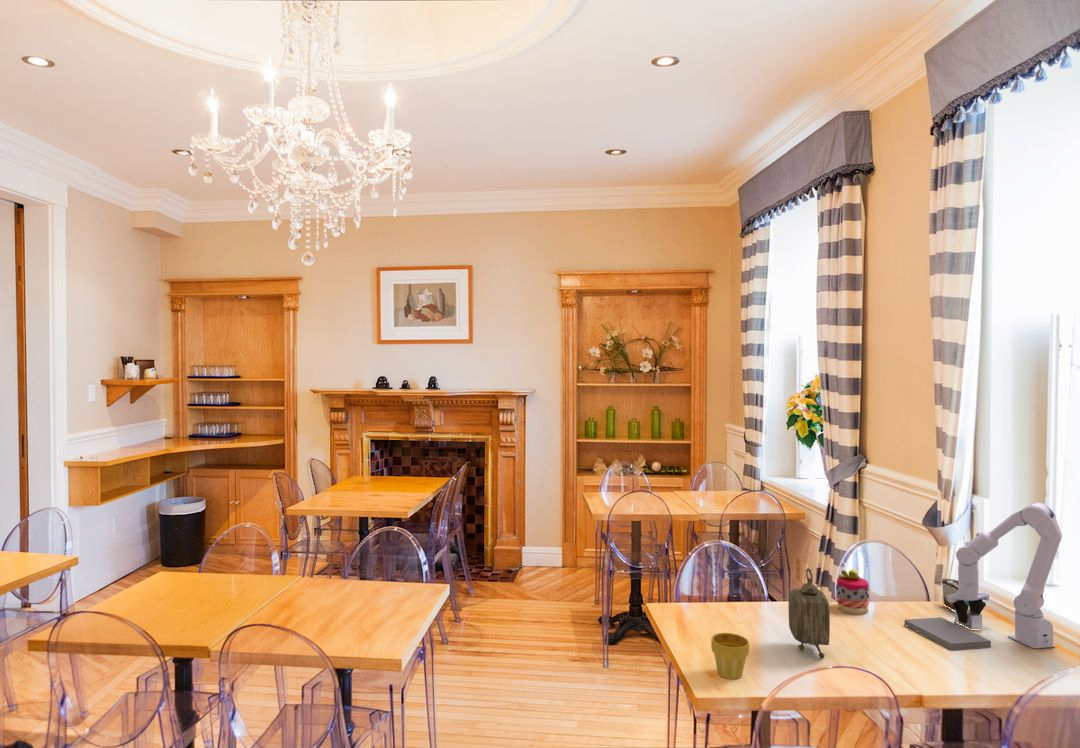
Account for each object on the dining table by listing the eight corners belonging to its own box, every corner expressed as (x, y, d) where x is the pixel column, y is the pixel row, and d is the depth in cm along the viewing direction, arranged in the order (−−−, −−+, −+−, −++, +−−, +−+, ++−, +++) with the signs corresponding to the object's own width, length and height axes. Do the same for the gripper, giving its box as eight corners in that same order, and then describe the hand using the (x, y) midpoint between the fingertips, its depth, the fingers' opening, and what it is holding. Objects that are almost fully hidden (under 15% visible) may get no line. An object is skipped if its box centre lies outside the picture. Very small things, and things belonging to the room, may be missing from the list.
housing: (982, 630, 214) (982, 615, 214) (971, 631, 214) (971, 615, 214) (963, 621, 222) (963, 607, 222) (952, 622, 221) (952, 607, 221)
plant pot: (755, 682, 177) (755, 646, 177) (718, 683, 176) (718, 647, 176) (740, 665, 187) (740, 631, 187) (706, 666, 186) (706, 632, 186)
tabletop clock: (829, 661, 190) (829, 577, 190) (797, 659, 191) (797, 575, 192) (817, 642, 204) (817, 563, 204) (787, 639, 206) (787, 561, 206)
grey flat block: (990, 647, 200) (990, 640, 200) (951, 650, 198) (951, 643, 198) (940, 623, 220) (940, 617, 220) (904, 625, 218) (904, 619, 218)
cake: (836, 603, 239) (836, 563, 239) (868, 607, 235) (868, 566, 235) (836, 612, 230) (836, 570, 230) (869, 617, 225) (869, 574, 225)
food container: (980, 617, 225) (980, 589, 226) (962, 617, 226) (962, 588, 226) (958, 605, 238) (958, 578, 238) (941, 604, 238) (941, 577, 238)
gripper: (976, 577, 223) (977, 616, 223) (940, 579, 220) (940, 618, 220) (994, 583, 216) (994, 624, 216) (956, 585, 213) (956, 626, 213)
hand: (968, 622), depth 217 cm, fingers closed on housing, 4 cm apart
